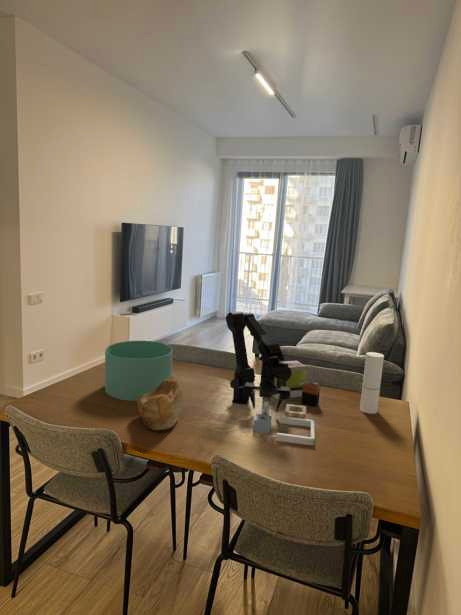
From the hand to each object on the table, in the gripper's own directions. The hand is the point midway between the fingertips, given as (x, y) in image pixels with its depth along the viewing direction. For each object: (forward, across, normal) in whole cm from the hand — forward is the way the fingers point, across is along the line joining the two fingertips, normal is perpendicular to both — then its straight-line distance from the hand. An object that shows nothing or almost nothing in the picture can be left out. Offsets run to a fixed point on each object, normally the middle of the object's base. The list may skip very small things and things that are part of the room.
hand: (265, 410), depth 171 cm
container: (+3, -59, +12) cm, 60 cm away
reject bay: (+2, +12, -12) cm, 17 cm away
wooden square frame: (+2, +12, +1) cm, 12 cm away
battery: (+2, +18, +18) cm, 26 cm away
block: (+2, 0, -12) cm, 12 cm away
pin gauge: (+2, 0, 0) cm, 2 cm away
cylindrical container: (+2, +43, +19) cm, 47 cm away
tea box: (+3, +7, +26) cm, 27 cm away
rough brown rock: (+3, -40, -16) cm, 43 cm away
